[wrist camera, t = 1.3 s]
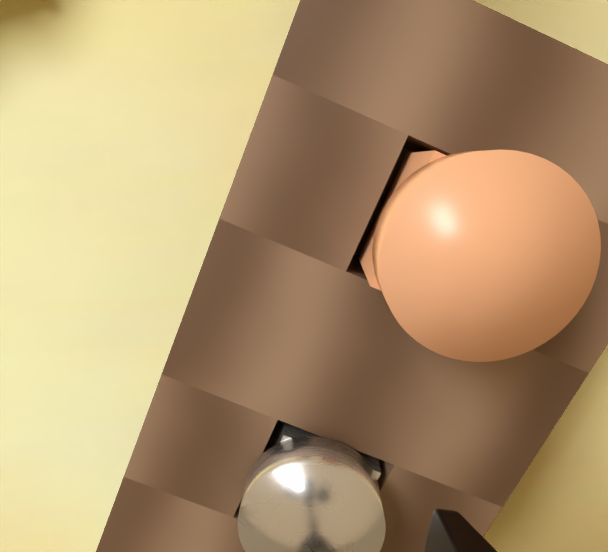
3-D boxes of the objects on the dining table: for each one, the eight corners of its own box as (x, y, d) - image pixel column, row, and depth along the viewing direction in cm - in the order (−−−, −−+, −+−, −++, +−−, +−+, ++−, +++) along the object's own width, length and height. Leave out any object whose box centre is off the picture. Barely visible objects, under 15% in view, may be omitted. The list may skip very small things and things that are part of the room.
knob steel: (387, 411, 20) (411, 497, 15) (341, 498, 22) (348, 605, 16) (282, 369, 20) (270, 442, 15) (241, 461, 21) (216, 558, 16)
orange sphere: (534, 189, 15) (645, 204, 10) (463, 319, 17) (529, 391, 12) (398, 129, 15) (441, 111, 10) (336, 266, 16) (345, 315, 11)
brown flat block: (634, 137, 19) (745, 129, 14) (384, 563, 24) (401, 663, 19) (324, -6, 18) (326, -69, 13) (141, 472, 23) (95, 553, 18)
